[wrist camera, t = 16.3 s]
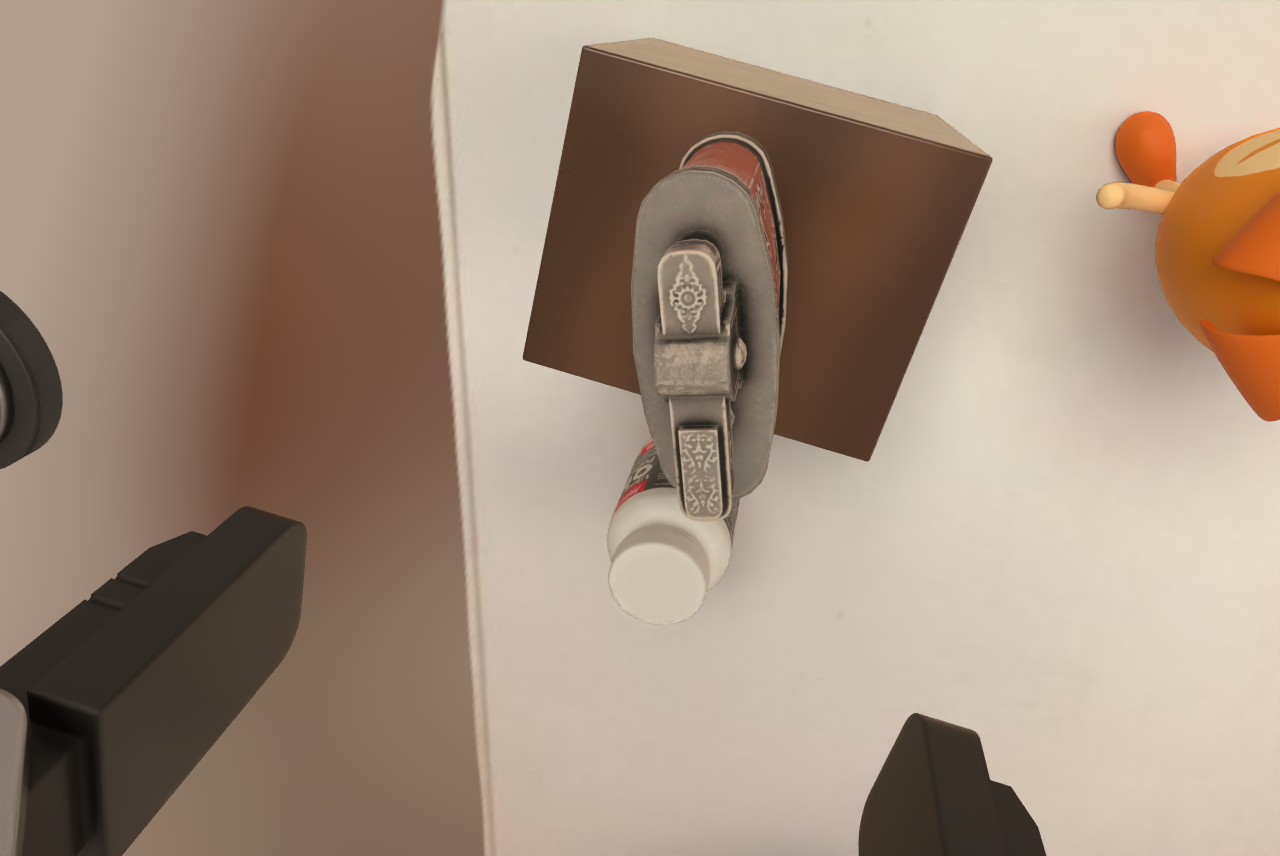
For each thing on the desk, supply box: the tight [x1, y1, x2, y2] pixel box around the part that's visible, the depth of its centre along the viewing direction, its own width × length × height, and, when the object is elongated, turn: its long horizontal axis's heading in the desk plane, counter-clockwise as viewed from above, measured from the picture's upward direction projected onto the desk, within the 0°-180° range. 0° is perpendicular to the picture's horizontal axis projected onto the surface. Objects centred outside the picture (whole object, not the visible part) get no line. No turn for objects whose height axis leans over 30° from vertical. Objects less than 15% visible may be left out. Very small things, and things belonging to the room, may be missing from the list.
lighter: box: [631, 131, 788, 521], centre depth 23 cm, size 8×3×10 cm, turn 6°
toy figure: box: [1096, 111, 1280, 421], centre depth 28 cm, size 12×8×15 cm, turn 80°
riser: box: [523, 38, 992, 461], centre depth 32 cm, size 12×10×12 cm
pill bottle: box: [607, 438, 739, 625], centre depth 40 cm, size 5×5×10 cm
